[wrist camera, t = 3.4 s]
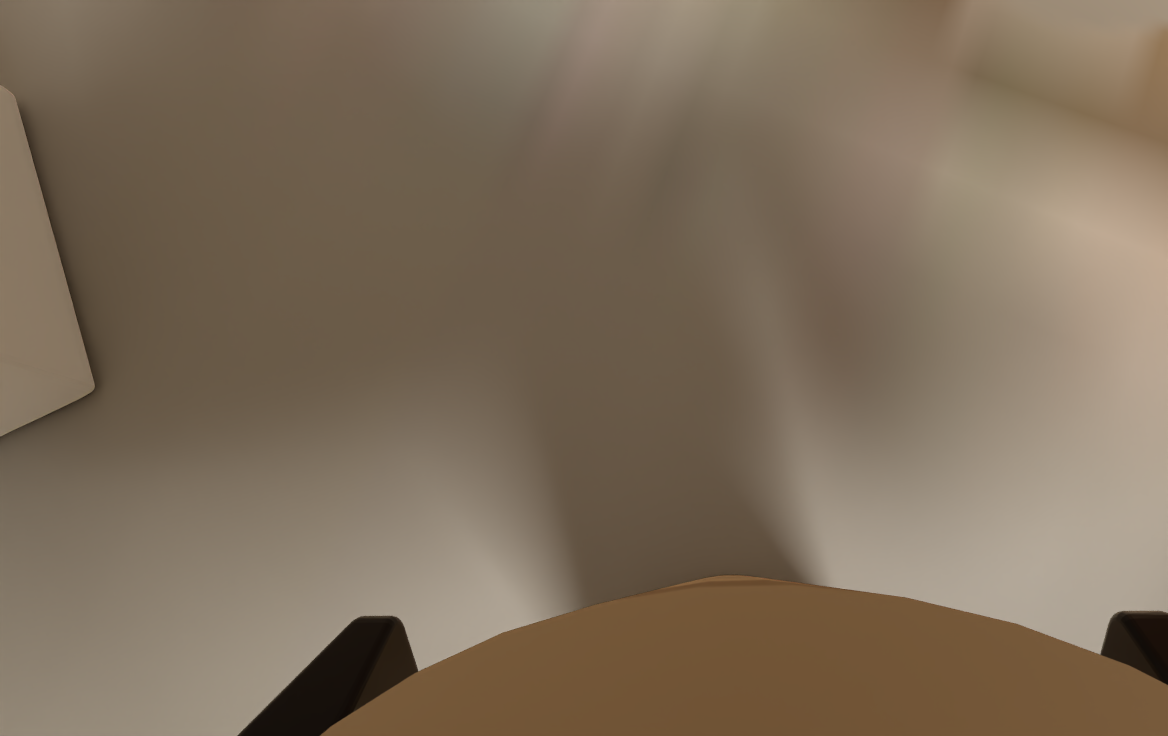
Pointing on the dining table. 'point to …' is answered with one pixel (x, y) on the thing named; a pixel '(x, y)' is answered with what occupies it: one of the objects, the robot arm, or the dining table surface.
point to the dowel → (768, 673)
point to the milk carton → (32, 293)
